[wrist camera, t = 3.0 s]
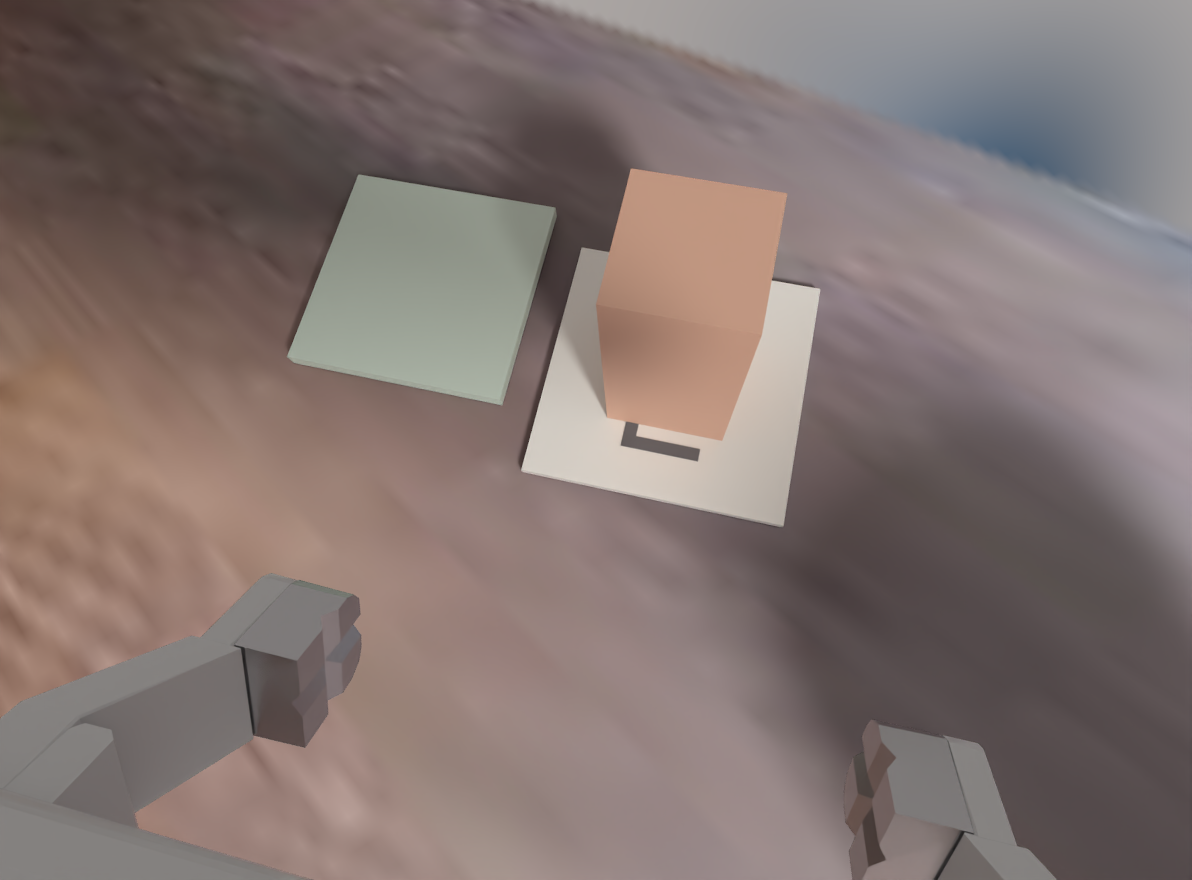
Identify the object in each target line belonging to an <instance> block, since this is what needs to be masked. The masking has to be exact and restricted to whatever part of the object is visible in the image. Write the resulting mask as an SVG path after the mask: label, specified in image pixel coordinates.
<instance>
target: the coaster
mask: <svg viewBox="0 0 1192 880" xmlns="http://www.w3.org/2000/svg"><path fill="white" fill-rule="evenodd" d="M556 217H557V214H556V208H555V207H549V206H543V205H537V204H531V203H525V202H519V201H513V200H507V199H501V198H495V197H489V196H484V195H478V194H472V193H466V192H460V191H454V190H448V189H442V188H436V187H430V186H424V185H418V184H412V183H406V182H401V181H395V180H389V179H383V178H377V177H371V176H365V175H358V177H357V180H356V182H355V185H354V187H353V190H352V193H351V195H350V198H349V200H348V203H347V205H346V208H345V210H344V213H343V216H342V218H341V221H340V223H339V226H338V228H337V231H336V233H335V236H334V238H333V241H332V244H331V246H330V249H329V251H328V254H327V256H326V259H325V261H324V264H323V266H322V269H321V272H320V274H319V277H318V279H317V282H316V284H315V287H314V289H313V292H312V294H311V297H310V300H309V302H308V305H307V307H306V310H305V312H304V315H303V317H302V320H301V323H300V325H299V328H298V330H297V333H296V335H295V338H294V340H293V343H292V345H291V348H290V351H289V353H288V356H287V357H288V358H289V359H290V360H291V361H292V362H293V363H297V364H302V365H307V366H312V367H317V368H322V369H326V370H331V371H336V372H341V373H346V374H351V375H356V376H361V377H366V378H371V379H376V380H381V381H385V382H390V383H395V384H400V385H405V386H410V387H415V388H420V389H425V390H430V391H435V392H440V393H445V394H449V395H454V396H459V397H464V398H469V399H474V400H479V401H484V402H489V403H494V404H499V405H502V404H503V401H504V398H505V394H506V391H507V387H508V384H509V380H510V377H511V373H512V370H513V366H514V363H515V359H516V356H517V352H518V349H519V346H520V342H521V339H522V335H523V332H524V328H525V325H526V321H527V318H528V314H529V311H530V307H531V304H532V301H533V297H534V294H535V290H536V287H537V283H538V280H539V276H540V273H541V269H542V266H543V262H544V259H545V255H546V252H547V249H548V245H549V242H550V238H551V235H552V231H553V228H554V224H555V221H556Z"/></svg>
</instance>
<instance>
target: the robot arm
mask: <svg viewBox="0 0 1192 880" xmlns="http://www.w3.org/2000/svg"><path fill="white" fill-rule="evenodd" d="M359 616H360V603H359V598H358V597H356V596H355V595H353V594H350V593H346V592H342V591H338V590H335V589H331V588H327V587H323V586H320V585H316V584H312V583H308V582H305V581H301V580H295V579H291V578H287V577H284V576H280V575H276V574H273V573H270V574H268V575H265V576H262V577H261V578H260V579H259V580H258V581H257V582H256V583H255V584H254V585H253V586H252V587H251V588H250V589H249V590H248V591H247V592H246V593H245V594H244V595H243V596H242V597H241V598H240V599H239V600H238V601H237V602H236V603H235V604H234V605H233V606H232V607H231V608H230V609H229V610H228V611H227V612H226V613H225V614H224V615H223V616H222V617H221V618H219V619H218V620H217V621H216V622H215V623H214V624H213V625H212V626H211V627H210V628H209V629H208V630H207V631H206V632H205V633H204V634H203V635H202V636H201V637H195V636H189V637H187V638H184V639H181V640H179V641H176V642H174V643H171V644H169V645H166V646H163V647H161V648H158V649H156V650H153V651H150V652H148V653H145V654H143V655H140V656H137V657H135V658H132V659H130V660H127V661H125V662H122V663H119V664H117V665H114V666H112V667H109V668H106V669H104V670H101V671H99V672H96V673H93V674H91V675H88V676H86V677H83V678H81V679H78V680H75V681H73V682H70V683H68V684H65V685H62V686H60V687H57V688H55V689H52V690H49V691H47V692H44V693H42V694H39V695H37V696H34V697H31V698H29V699H26V700H24V701H21V702H19V703H18V704H17V705H16V706H15V707H14V708H12V709H11V710H10V711H9V712H8V713H6V714H5V715H4V716H3V717H2V718H0V880H312V879H309V878H306V877H302V876H299V875H295V874H292V873H289V872H285V871H282V870H278V869H275V868H272V867H268V866H265V865H261V864H258V863H255V862H251V861H248V860H244V859H241V858H237V857H234V856H231V855H227V854H224V853H220V852H217V851H214V850H210V849H207V848H203V847H200V846H196V845H193V844H190V843H186V842H183V841H179V840H176V839H173V838H169V837H166V836H162V835H159V834H155V833H152V832H149V831H145V830H142V829H139V827H138V824H137V820H136V816H135V813H136V812H137V811H139V810H140V809H142V808H143V807H145V806H147V805H148V804H150V803H151V802H153V801H155V800H156V799H158V798H159V797H161V796H163V795H164V794H166V793H167V792H169V791H171V790H172V789H174V788H175V787H177V786H179V785H180V784H182V783H183V782H185V781H187V780H188V779H190V778H191V777H193V776H195V775H196V774H198V773H199V772H201V771H203V770H204V769H206V768H207V767H209V766H211V765H212V764H214V763H215V762H217V761H219V760H220V759H222V758H223V757H225V756H227V755H228V754H230V753H231V752H233V751H235V750H236V749H238V748H239V747H241V746H243V745H244V744H246V743H247V742H249V741H251V740H252V739H253V736H257V737H262V738H266V739H270V740H274V741H279V742H283V743H287V744H291V745H295V746H300V747H304V748H305V747H306V746H307V745H308V743H309V742H310V740H311V739H312V737H313V736H314V734H315V733H316V731H317V730H318V729H319V727H320V726H321V724H322V723H323V721H324V720H325V718H326V717H327V715H328V700H329V699H331V698H333V697H335V696H337V695H339V694H341V693H343V692H344V690H345V689H346V687H347V686H348V684H349V683H350V681H351V679H352V678H353V675H354V673H355V670H356V667H357V665H358V662H359V659H360V653H361V634H360V633H359V632H358V630H357V629H356V627H355V626H354V625H353V624H354V622H355V621H356V620H357V618H358V617H359ZM862 741H863V748H864V752H862V753H860V754H858V755H856V756H854V757H853V758H852V761H851V764H850V766H849V769H848V772H847V776H846V782H845V788H844V813H845V822H846V824H847V825H848V827H849V828H850V829H851V831H852V832H853V833H854V835H855V839H854V841H853V843H852V845H851V848H850V850H849V856H850V864H851V872H852V880H1057V879H1056V878H1055V877H1054V876H1053V875H1052V874H1051V873H1050V871H1049V870H1048V869H1047V868H1046V867H1045V866H1044V865H1043V864H1042V863H1041V862H1040V861H1039V860H1038V859H1037V858H1036V857H1035V855H1034V854H1033V853H1032V852H1031V851H1030V850H1029V849H1026V848H1023V847H1019V846H1017V843H1016V841H1015V838H1014V835H1013V832H1012V829H1011V826H1010V823H1009V820H1008V818H1007V815H1006V812H1005V809H1004V806H1003V803H1002V800H1001V797H1000V795H999V792H998V789H997V786H996V783H995V780H994V777H993V774H992V772H991V769H990V766H989V763H988V760H987V757H986V754H985V751H984V749H983V748H982V747H981V746H980V745H979V743H975V742H971V741H967V740H962V739H958V738H953V737H949V736H945V735H942V736H940V735H939V734H935V733H931V732H926V731H922V730H918V729H913V728H909V727H905V726H900V725H896V724H892V723H888V722H883V721H879V720H875V719H872V720H871V721H870V722H869V723H868V724H867V726H866V728H865V730H864V733H863V735H862Z"/></svg>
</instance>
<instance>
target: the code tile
mask: <svg viewBox="0 0 1192 880" xmlns="http://www.w3.org/2000/svg"><path fill="white" fill-rule="evenodd" d="M608 256H609V252H605V251H600V250H594V249H588V248H582V249H581V252H580V256H579V260H578V263H577V267H576V271H575V274H574V278H573V282H572V285H571V289H570V293H569V296H568V300H567V304H566V307H565V311H564V315H563V318H562V322H561V326H560V329H559V333H558V337H557V340H556V344H555V348H554V351H553V355H552V359H551V362H550V366H549V370H548V373H547V377H546V381H545V384H544V388H543V392H542V395H541V399H540V403H539V406H538V410H537V414H536V418H535V421H534V425H533V429H532V432H531V436H530V440H529V443H528V447H527V451H526V454H525V458H524V462H523V465H522V469H521V470H522V472H525V473H529V474H534V475H539V476H544V477H548V478H553V479H558V480H562V481H567V482H572V483H576V484H581V485H586V486H590V487H595V488H600V489H604V490H609V491H614V492H618V493H623V494H628V495H632V496H637V497H642V498H647V499H651V500H656V501H661V502H665V503H670V504H675V505H679V506H684V507H689V508H693V509H698V510H703V511H707V512H712V513H717V514H721V515H726V516H731V517H735V518H740V519H745V520H750V521H754V522H759V523H764V524H768V525H773V526H778V527H783V526H784V519H785V513H786V506H787V500H788V494H789V487H790V481H791V474H792V468H793V462H794V455H795V449H796V442H797V436H798V429H799V423H800V417H801V410H802V404H803V397H804V391H805V384H806V378H807V372H808V365H809V359H810V352H811V346H812V339H813V333H814V327H815V320H816V314H817V307H818V301H819V294H820V289H817V288H812V287H806V286H800V285H794V284H789V283H783V282H777V281H772V282H771V287H770V293H769V299H768V304H767V310H766V315H765V321H764V326H763V332H762V336H761V339H760V342H759V344H758V347H757V349H756V352H755V355H754V357H753V360H752V363H751V365H750V368H749V371H748V373H747V376H746V379H745V381H744V384H743V387H742V389H741V392H740V395H739V397H738V400H737V403H736V405H735V408H734V411H733V413H732V416H731V419H730V421H729V424H728V427H727V429H726V432H725V435H724V437H723V440H722V441H720V440H715V439H710V438H705V437H701V436H696V435H691V434H686V433H681V432H676V431H671V430H666V429H661V428H656V427H651V426H646V425H641V424H636V423H631V422H626V421H621V420H616V419H611V418H607V410H606V400H605V390H604V380H603V370H602V360H601V350H600V340H599V330H598V320H597V310H596V302H597V298H598V295H599V291H600V287H601V283H602V279H603V275H604V271H605V268H606V264H607V260H608Z"/></svg>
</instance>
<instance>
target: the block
mask: <svg viewBox="0 0 1192 880" xmlns="http://www.w3.org/2000/svg"><path fill="white" fill-rule="evenodd" d="M786 198H787V193H782V192H775V191H769V190H763V189H757V188H750V187H744V186H738V185H732V184H725V183H719V182H713V181H707V180H700V179H694V178H688V177H682V176H675V175H669V174H663V173H657V172H651V171H644V170H638V169H632V168H631V171H630V175H629V179H628V182H627V186H626V190H625V194H624V198H623V202H622V206H621V210H620V213H619V217H618V221H617V225H616V229H615V233H614V237H613V240H612V244H611V248H610V252H609V256H608V260H607V264H606V268H605V271H604V275H603V279H602V283H601V287H600V291H599V295H598V298H597V302H596V310H597V320H598V330H599V340H600V350H601V360H602V370H603V380H604V390H605V400H606V410H607V418H611V419H616V420H621V421H626V422H631V423H636V424H641V425H646V426H651V427H656V428H661V429H666V430H671V431H676V432H681V433H686V434H691V435H696V436H701V437H705V438H710V439H715V440H720V441H722V440H723V437H724V435H725V432H726V429H727V427H728V424H729V421H730V419H731V416H732V413H733V411H734V408H735V405H736V403H737V400H738V397H739V395H740V392H741V389H742V387H743V384H744V381H745V379H746V376H747V373H748V371H749V368H750V365H751V363H752V360H753V357H754V355H755V352H756V349H757V347H758V344H759V342H760V339H761V336H762V332H763V326H764V321H765V315H766V310H767V304H768V299H769V293H770V287H771V282H772V276H773V271H774V265H775V259H776V254H777V248H778V243H779V237H780V232H781V226H782V220H783V215H784V209H785V204H786Z"/></svg>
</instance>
